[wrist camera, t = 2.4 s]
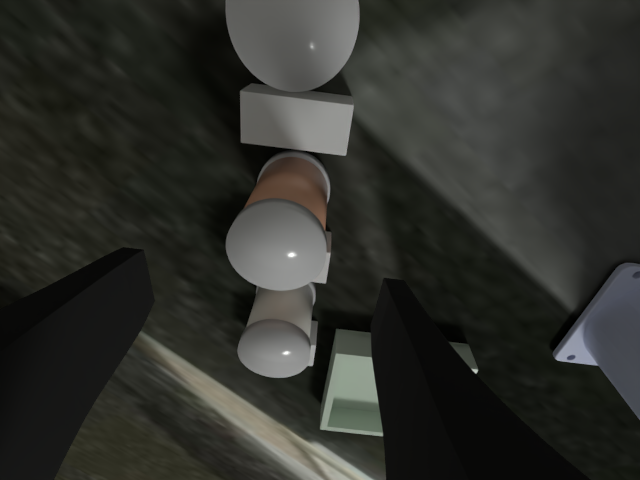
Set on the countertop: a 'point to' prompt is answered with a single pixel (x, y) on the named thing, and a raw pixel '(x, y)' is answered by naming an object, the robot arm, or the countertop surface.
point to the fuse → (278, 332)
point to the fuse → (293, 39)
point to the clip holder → (297, 133)
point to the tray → (358, 385)
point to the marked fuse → (283, 224)
